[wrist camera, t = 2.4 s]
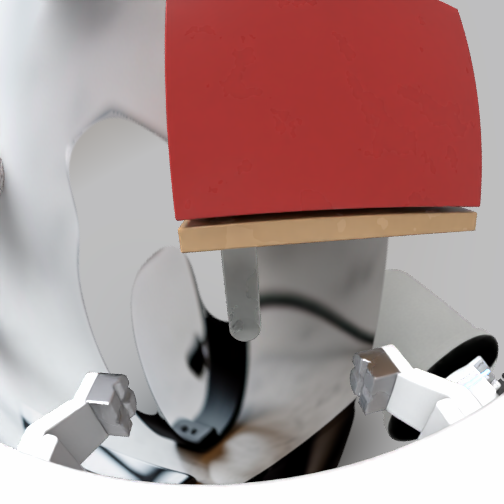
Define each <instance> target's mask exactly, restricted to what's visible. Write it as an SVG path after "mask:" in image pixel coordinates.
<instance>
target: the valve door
mask: <svg viewBox="0 0 504 504" xmlns="http://www.w3.org/2000/svg"><path fill="white" fill-rule="evenodd" d="M476 218H477V213H476V212H474V211H471V210H468V209H465V208H462V207H390V208H358V209H334V210H314V211H296V212H280V213H265V214H251V215H238V216H226V217H214V218H202V219H192V220H184V222H183V223H182V224H181V226H180V228H179V229H178V234H179V241H180V249H181V252H182V253H188V252H201V251H213V250H221V256H222V266H223V275H224V285H225V294H226V303H227V311H228V320H229V329H230V333H231V335H232V336H233V337H234V338H235V339H237V340H240V341H250V340H253V339H255V338H256V337H257V336H258V335H259V333H260V331H261V316H260V298H259V281H258V263H257V247H263V246H275V245H288V244H301V243H313V242H326V241H339V240H352V239H365V238H379V237H392V236H406V235H417V234H418V235H419V234H433V233H447V232H460V231H474V230H475V226H476Z"/></svg>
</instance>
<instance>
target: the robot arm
mask: <svg viewBox="0 0 504 504" xmlns="http://www.w3.org/2000/svg"><path fill="white" fill-rule="evenodd" d="M352 362H353V364H354V366H355V367H354V368H353V369H352V370H351V373H350V385H351V388H352V391H353V393H354V394H355V395H357V396H359V397H360V399H359V404H360V406H361V408H362V410H363V412H364V414H365V415H367V414H371V413H374V412H378V411H382V410H385V409H386V411H388V412H389V413H391V414H392V415H394V416H395V417H397V418H399V419H400V420H402V421H403V422H405V423H406V424H408V425H410V426H411V427H413V428H415V429H416V430H418V431H419V432H421V434H420V435H419V437H418V439H417V441H415V442H413V443H411V444H408V445H406V446H403V447H401V448H398V449H395V450H393V451H390V452H387V453H384V454H382V455H379V456H376V457H373V458H370V459H367V460H363V461H360V462H357V463H353V464H350V465H346V466H343V467H339V468H334V469H330V470H326V471H322V472H317V473H312V474H307V475H302V476H297V477H291V478H284V479H277V480H270V481H261V482H251V483H238V484H217V485H188V484H167V483H154V482H144V481H136V480H129V479H122V478H116V477H110V476H105V475H100V474H95V473H90V472H87V471H86V470H85V469H84V468H83V467H82V466H81V465H80V464H81V463H82V462H83V461H84V460H85V459H86V458H87V457H88V456H89V455H90V454H91V453H92V452H93V451H94V450H95V449H96V448H97V447H98V446H99V445H100V444H101V443H102V442H103V441H104V440H105V439H106V438H107V437H108V435H113V436H124V437H129V434H130V431H131V427H132V422H131V420H130V418H131V417H133V416H134V415H135V412H136V398H135V395H134V392H133V391H132V390H131V389H130V388H128V385H129V381H128V379H127V377H126V376H125V375H123V374H109V373H94V372H89V373H87V374H86V375H85V377H84V379H83V381H82V383H81V385H80V387H79V389H78V391H77V393H76V395H75V397H74V398H73V400H69V401H67V402H65V403H64V404H62V405H61V406H59V407H58V408H56V409H55V410H53V411H52V412H50V413H49V414H47V415H45V416H44V417H42V418H41V419H39V420H38V421H36V422H35V423H33V424H31V425H30V426H28V427H27V429H26V431H25V433H24V435H23V436H22V438H21V440H20V442H19V444H18V446H17V448H16V449H14V448H12V447H9V446H7V445H5V444H3V443H0V504H504V382H503V381H502V380H501V379H500V380H498V381H497V380H496V379H495V376H494V374H493V373H492V371H491V370H490V369H489V367H488V366H487V364H486V363H485V362H484V360H483V359H482V358H481V356H477V357H476V358H475V359H473V360H472V361H471V362H470V363H469V364H468V365H466V366H464V367H462V368H460V369H458V370H457V371H455V372H454V373H452V374H451V375H449V376H448V377H447V378H446V379H444V378H441V377H439V376H436V375H434V374H431V373H428V372H426V371H423V370H421V369H418V368H415V369H413V368H412V367H411V365H410V364H409V363H408V362H407V360H406V359H405V358H404V357H403V356H402V354H401V353H400V352H399V351H398V349H397V348H396V347H395V346H394V345H392V344H389V345H386V346H382V347H379V348H375V349H371V350H367V351H362V352H358V353H355V354H354V356H353V361H352ZM502 377H503V378H504V373H503V374H502Z"/></svg>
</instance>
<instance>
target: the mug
mask: <svg viewBox="0 0 504 504" xmlns="http://www.w3.org/2000/svg"><path fill="white" fill-rule="evenodd" d="M3 182H4V170H3V164H2V161H1V158H0V195H1V192H2V188H3Z"/></svg>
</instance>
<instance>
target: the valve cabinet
mask: <svg viewBox="0 0 504 504" xmlns="http://www.w3.org/2000/svg"><path fill="white" fill-rule="evenodd" d="M165 91H166V115H167V132H168V147H169V158H170V171H171V182H172V192H173V201H174V209H175V218H176V220H177V221H181V220H192V219H202V218H214V217H226V216H238V215H251V214H265V213H280V212H296V211H314V210H334V209H358V208H390V207H479V206H480V199H481V178H482V149H481V127H480V115H479V105H478V97H477V90H476V83H475V77H474V71H473V66H472V61H471V56H470V52H469V48H468V44H467V40H466V36H465V32H464V29H463V25H462V22H461V19H460V15H459V13H458V10H457V9H456V8H453V7H452V6H450V5H448V4H445V3H443V2H441V1H439V0H166V13H165Z"/></svg>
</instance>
